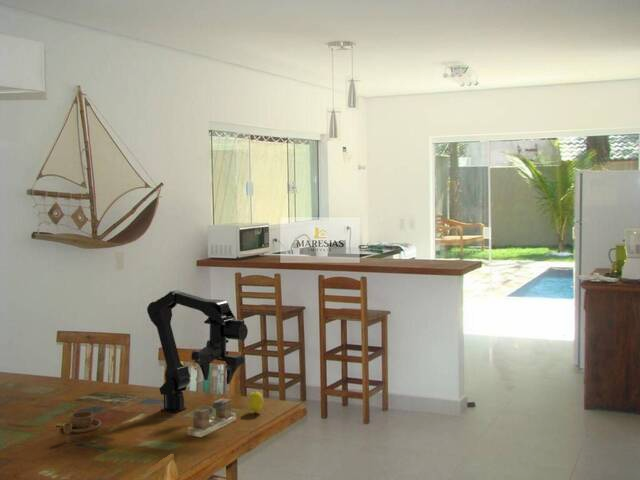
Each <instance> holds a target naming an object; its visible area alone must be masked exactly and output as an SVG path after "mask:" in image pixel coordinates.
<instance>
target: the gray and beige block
mask: <svg viewBox="0 0 640 480" xmlns="http://www.w3.org/2000/svg"><path fill="white" fill-rule="evenodd" d="M212 409H215V417H219V418H225V420H226V419H228V418H230V417H231V413H232V399H230V398H229V399H228V398H223V397H221V398H219V399H217V400H215V401H212Z"/></svg>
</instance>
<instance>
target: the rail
mask: <svg viewBox="0 0 640 480" xmlns="http://www.w3.org/2000/svg"><path fill="white" fill-rule="evenodd" d="M210 415H211V417H210ZM212 415H213V407H208V406H201V407H198V408H196V409H194V410H193V411H192V418H193V419H192V424H193V427H191V426H190V427H188V428H187V435H188V436H192V437H198V438H202V437H203V438H204V436H206V435H209V434H211V433H213V432H215V431H217V430H219V429H221V428H223V427H225V426H227V425H229V424H231V423H233V422H235V421H237V414H236V413H235V412H231V417H230V418H228V419H226V420H225V418H219V417H216V416H212ZM210 418H211V419H210Z"/></svg>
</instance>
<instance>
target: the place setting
mask: <svg viewBox="0 0 640 480" xmlns="http://www.w3.org/2000/svg"><path fill="white" fill-rule="evenodd" d="M93 415H94V414H93V412H91V411H77V412H73V413H72V414H70V420H69V421H66V422H64V423H57V424H56V425H55V426H56V427H62V428H63V434H65V435H66V436H65V440H66V441H65V443H70V442H71V441H70V434H72V433H75V434H78V433H79V434H81V433H88V432H92V431H95V430H97V429H99V428H100V427H101V424H102V421H101V420H99V419H97V418H93V417H94V416H93ZM92 424H95V426H92V427H89V426H91V425H92ZM72 426H73V427H75V428H73V427H72ZM85 436H87V437H90V435H87V434H86V435H85Z"/></svg>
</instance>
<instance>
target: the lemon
mask: <svg viewBox="0 0 640 480" xmlns="http://www.w3.org/2000/svg"><path fill="white" fill-rule="evenodd" d="M247 407H248V409H250V411H252V412H253V413H254V414H257V413H258V412H259V411H261V410H262V409H263V407H264V396H263V394H262V393H261V392H260V391H258V390H254V391H252V392H251V393H250V394H249V395H248V398H247Z"/></svg>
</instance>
